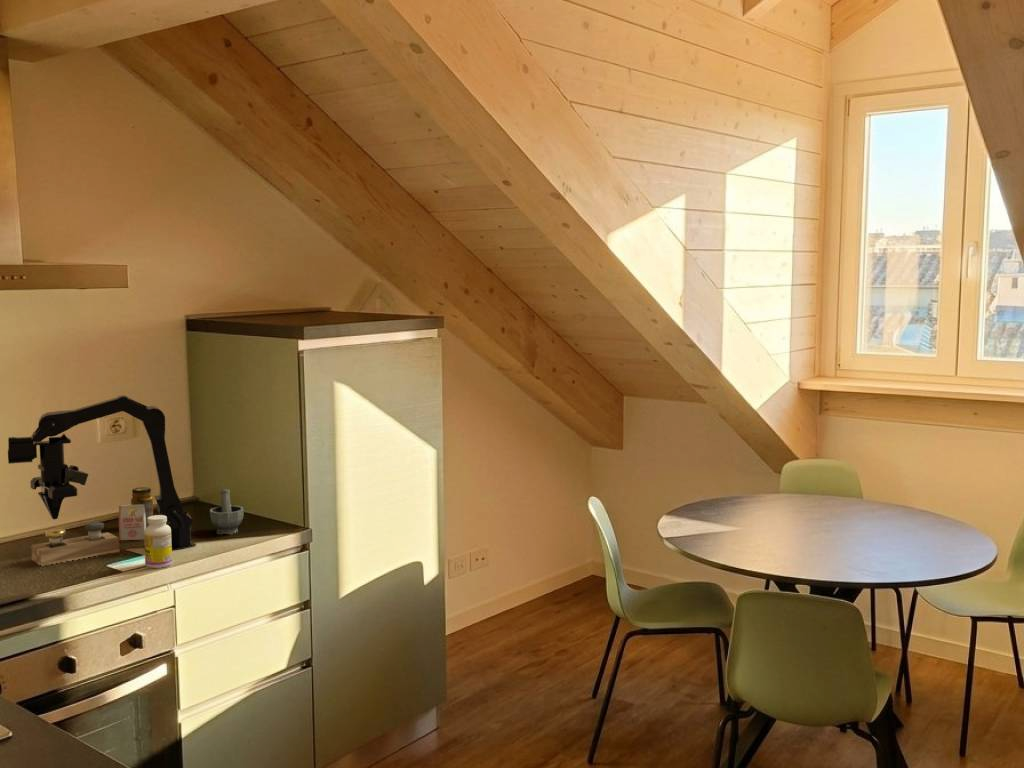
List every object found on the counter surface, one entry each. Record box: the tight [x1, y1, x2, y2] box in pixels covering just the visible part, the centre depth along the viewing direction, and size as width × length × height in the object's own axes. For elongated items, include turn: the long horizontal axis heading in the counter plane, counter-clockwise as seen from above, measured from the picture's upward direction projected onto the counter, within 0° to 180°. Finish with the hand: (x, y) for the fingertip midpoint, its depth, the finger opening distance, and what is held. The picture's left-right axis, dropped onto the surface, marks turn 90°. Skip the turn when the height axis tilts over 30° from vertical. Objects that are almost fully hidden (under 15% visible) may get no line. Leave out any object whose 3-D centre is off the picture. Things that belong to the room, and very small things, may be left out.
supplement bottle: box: [143, 514, 173, 569], centre depth 252 cm, size 7×7×13 cm
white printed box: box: [118, 504, 146, 542], centre depth 278 cm, size 4×7×10 cm, turn 102°
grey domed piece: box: [84, 522, 105, 541], centre depth 264 cm, size 5×5×4 cm
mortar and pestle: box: [209, 488, 245, 536], centre depth 287 cm, size 11×9×12 cm
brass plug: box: [45, 528, 66, 548], centre depth 257 cm, size 5×5×4 cm
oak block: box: [30, 531, 120, 567], centre depth 261 cm, size 8×20×4 cm, turn 133°
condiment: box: [130, 486, 154, 527], centre depth 290 cm, size 7×8×12 cm
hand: (54, 518), depth 257 cm, fingers closed
